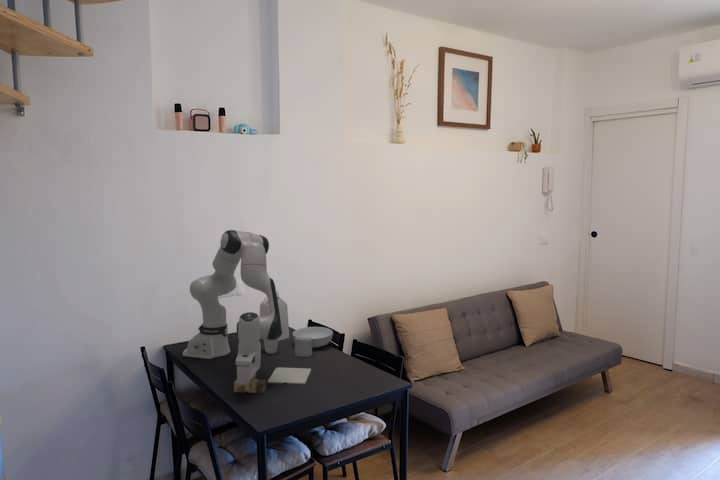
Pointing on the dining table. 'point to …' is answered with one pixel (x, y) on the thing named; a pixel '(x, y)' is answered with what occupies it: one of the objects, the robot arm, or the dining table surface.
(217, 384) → the dining table surface
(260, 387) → the wooden block
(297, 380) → the mat
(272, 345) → the dixie cup
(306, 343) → the medicine box
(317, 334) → the serving bowl
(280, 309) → the milk
